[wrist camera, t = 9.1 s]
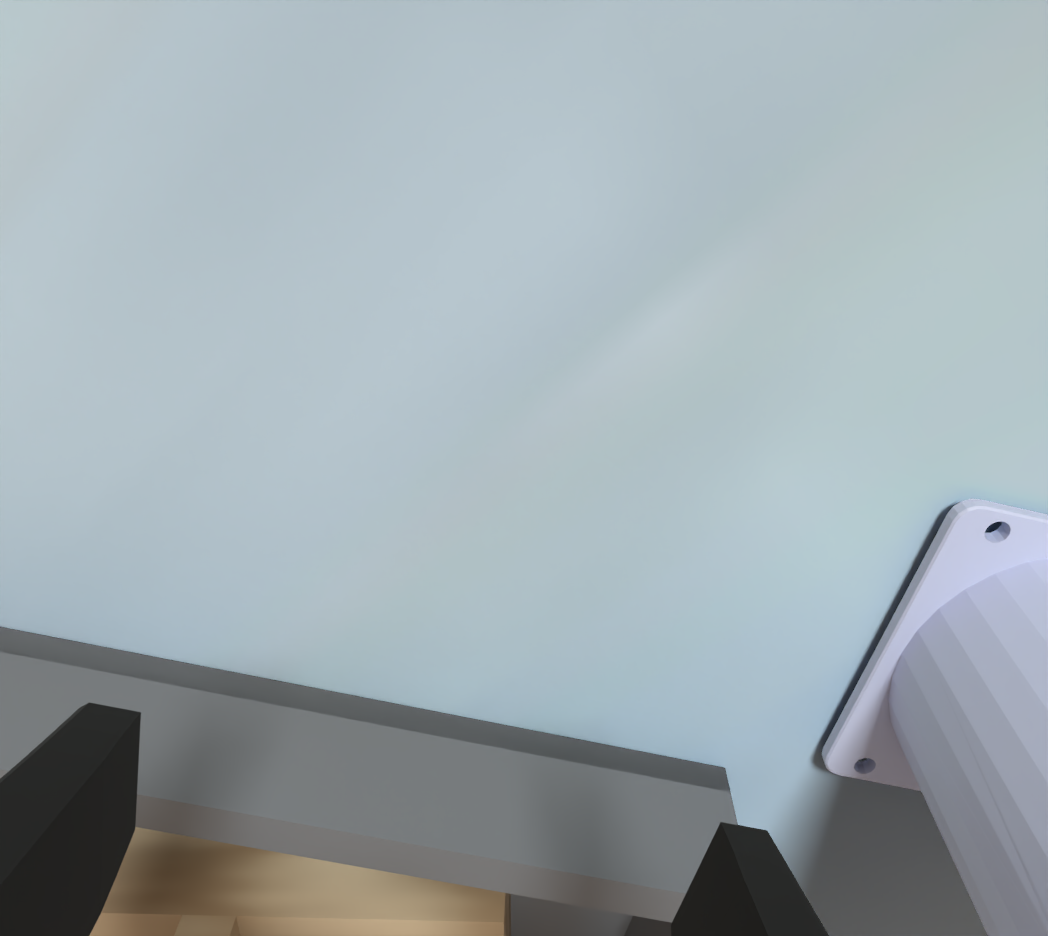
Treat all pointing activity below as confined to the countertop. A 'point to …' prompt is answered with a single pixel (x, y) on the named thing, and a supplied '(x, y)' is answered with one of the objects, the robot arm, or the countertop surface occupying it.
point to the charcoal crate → (387, 785)
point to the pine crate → (282, 896)
